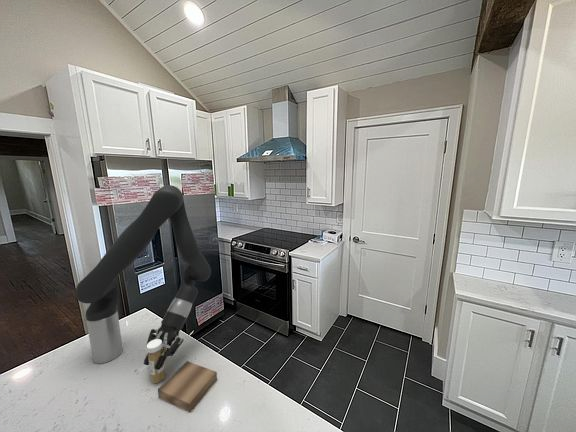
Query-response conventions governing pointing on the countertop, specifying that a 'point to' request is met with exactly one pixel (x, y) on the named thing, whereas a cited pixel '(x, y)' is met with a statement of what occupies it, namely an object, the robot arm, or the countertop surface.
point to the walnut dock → (187, 385)
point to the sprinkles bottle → (155, 360)
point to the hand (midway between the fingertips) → (151, 366)
